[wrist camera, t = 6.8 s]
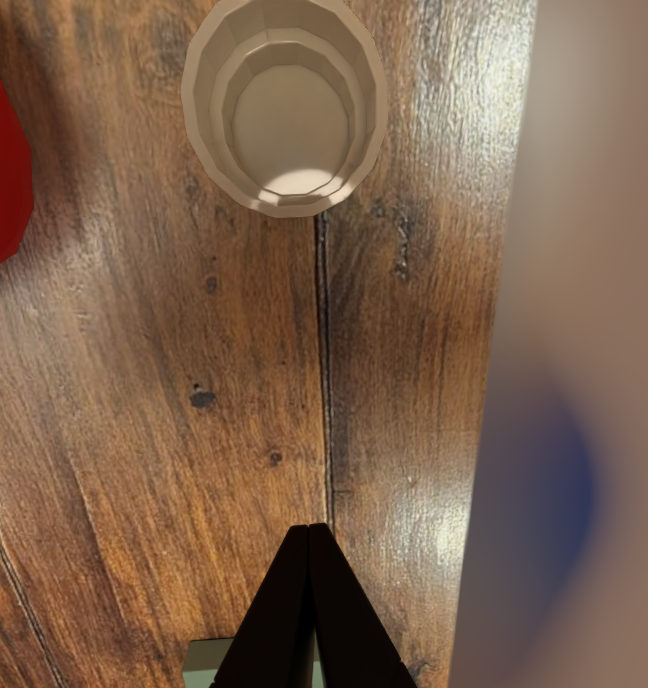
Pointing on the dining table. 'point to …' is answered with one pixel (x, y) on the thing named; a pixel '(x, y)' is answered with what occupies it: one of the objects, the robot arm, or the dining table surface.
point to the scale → (209, 657)
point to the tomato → (13, 179)
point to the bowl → (284, 103)
